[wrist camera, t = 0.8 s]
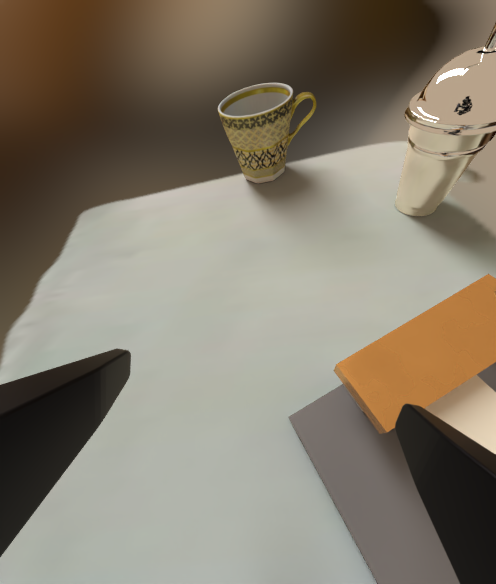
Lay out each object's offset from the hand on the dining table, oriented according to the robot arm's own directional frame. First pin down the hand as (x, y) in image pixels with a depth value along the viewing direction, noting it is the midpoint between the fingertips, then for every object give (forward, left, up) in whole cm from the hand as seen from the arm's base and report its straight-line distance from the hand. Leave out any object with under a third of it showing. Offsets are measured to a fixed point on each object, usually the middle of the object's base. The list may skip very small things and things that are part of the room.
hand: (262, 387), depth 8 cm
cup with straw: (+13, -26, -14) cm, 33 cm away
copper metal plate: (-1, -11, -9) cm, 14 cm away
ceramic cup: (+32, -17, -14) cm, 39 cm away
